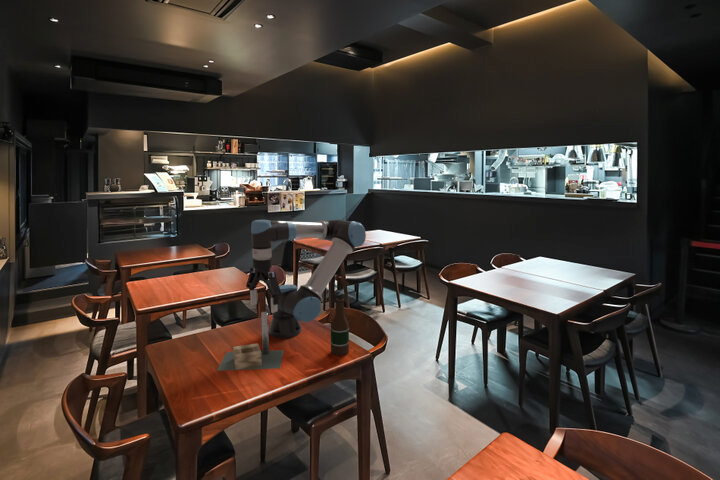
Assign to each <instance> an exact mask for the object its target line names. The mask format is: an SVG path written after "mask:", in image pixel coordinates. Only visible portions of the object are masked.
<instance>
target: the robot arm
mask: <svg viewBox="0 0 720 480" xmlns="http://www.w3.org/2000/svg"><path fill="white" fill-rule="evenodd" d="M250 228H251V232H250V233H251V249H252V267H250V268H249V275H248V278H247V282H246V285H245V287H246V288H247V289H248V290H249V297H250V306H252V307H253V306H255V305H258V293H257V292H258V291H257V287H258V284H259V282H260V281H261V282H263V283H264V284H265V285H266V287H267V290H268V291H269V292H270V293H269V294H270V295H271V296H270V312H271V314H272V320H271V322H270V325H269V327H268V335H269V336H271V337H272V338H276V339H291V338H294V337H297V336H299V335H300V334H301V333H302V325H301V322H304V323H309V322H312V321H314V320H315V319H316V318H317V317H319V315H320V314H321V311H322V308H321V307H322V303H321V302H322V300H323V297H322V294H323V292H324V291H325V289H326V288H327V286H328V284H329V283H330V282H331V281H332V278H333V277H334V276H335V274H336V272H337V271H338V269H339V267H340V266H341V264H342V263H343V261H344V260H345V258H346V257H347V256H348V254H351V253H353V252H354V250H355V248H358V247H362V246H363V245H364V243H365V241H366V238H367V233H366V229H365V227H364V225H363V224H362V223H361V222H358V221H349V220H343V219H342V220H341V219H329V220H327V219H326V220H318V221H317V222H315V221H292V220H291V221H290V220H269V219H254V220H253V221H252V222H251V227H250ZM296 238H311V239H312V238H314V239H315V238H316V239H318V240H319V241H320V240H323V241H330V242H331V243H332V244H331V246H330V247H329V248H328V250H327V251H326V253H325V254H324V256H323V258H322V259H321V260H320V261H319V264H318V265H317V267H316V268H315V269H314V271H313V273H312V274H311V276H310V277H309V278H308V280H307V282H306V283H305V284H302V285H300V287H299V288H298V287H297V285H295V284H282V285H279V281H278V279H277V273H276V271H271V268H272V266H273V259H272V256H273V255H272V243H278V242H284V241H287V242H289V241H291V240H294V239H296Z"/></svg>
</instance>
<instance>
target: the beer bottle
mask: <svg viewBox="0 0 720 480" xmlns="http://www.w3.org/2000/svg"><path fill="white" fill-rule="evenodd" d="M334 313H335V315H334V317H333V318H332V320H331V322H330V352H331V353H332V355H333V356H337V355H338V357H342V356H347V354H349V352H350V351H349V350H350V323H349V322H348V319H347V318H346V315H345V299H344V298H343V297H337V298H335V312H334ZM341 355H342V356H341Z"/></svg>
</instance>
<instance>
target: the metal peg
mask: <svg viewBox="0 0 720 480" xmlns="http://www.w3.org/2000/svg"><path fill="white" fill-rule="evenodd" d="M268 313H269V312H268V311H261V312H260V314H261V315H260V316H261V340H262V341H261V342H262V344H261V347H262V351H263V354H264V355H267V354H269V351H270V344H269V343H270V342H269V315H268Z"/></svg>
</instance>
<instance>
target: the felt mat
mask: <svg viewBox="0 0 720 480" xmlns="http://www.w3.org/2000/svg"><path fill="white" fill-rule="evenodd" d="M260 351H261V359H262V365H260V366H254V367H248V368H242V369H236V370H235V363H234V353H233V351H226V353H225V355H224V357H223V358H222V360H221V362H220V364H219V366H218V368H217V370H216V371H217V372H219V371H223V372H224V371H242V370H243V371H247V370H249V371H250V370H269V369H270V370H272V369H273V370H274V369H275V370H277V369H281V367H282V366H281V364H282V360H283V357H284V352H285V350H284V349H281V350H278V349H277V350H275V349H274V350H269V354H267V355H264V354H263V350H260Z"/></svg>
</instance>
